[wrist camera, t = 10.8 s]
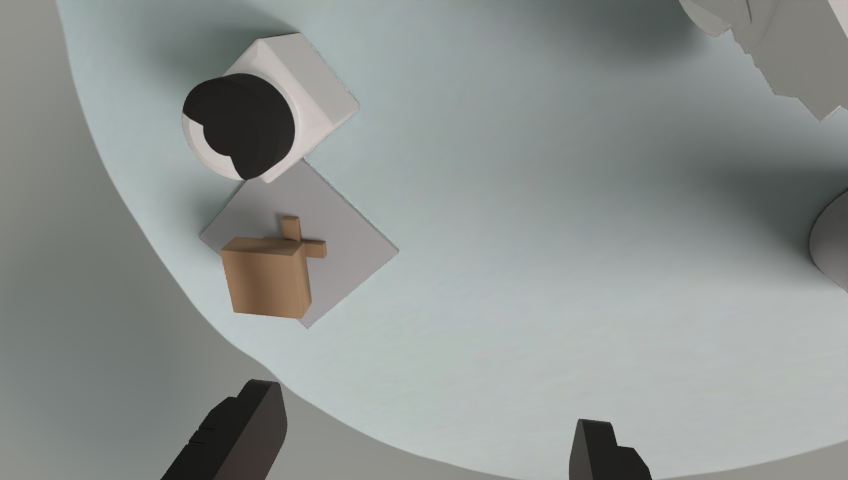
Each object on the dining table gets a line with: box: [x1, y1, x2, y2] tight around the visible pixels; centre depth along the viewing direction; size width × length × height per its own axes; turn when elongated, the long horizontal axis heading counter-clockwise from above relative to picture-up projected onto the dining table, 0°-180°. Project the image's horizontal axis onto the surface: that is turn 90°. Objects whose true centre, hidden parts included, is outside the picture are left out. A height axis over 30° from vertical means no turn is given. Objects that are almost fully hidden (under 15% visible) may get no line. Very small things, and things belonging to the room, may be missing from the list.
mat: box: [199, 158, 399, 329], centre depth 43 cm, size 14×14×1 cm
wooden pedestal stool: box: [220, 216, 327, 319], centre depth 40 cm, size 6×6×7 cm
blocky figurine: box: [182, 33, 359, 183], centre depth 32 cm, size 7×7×12 cm
